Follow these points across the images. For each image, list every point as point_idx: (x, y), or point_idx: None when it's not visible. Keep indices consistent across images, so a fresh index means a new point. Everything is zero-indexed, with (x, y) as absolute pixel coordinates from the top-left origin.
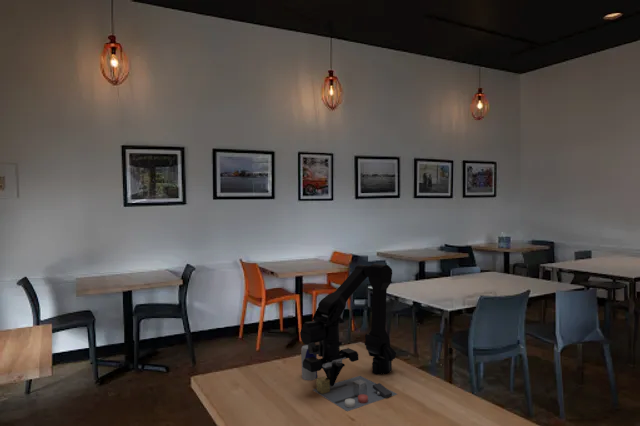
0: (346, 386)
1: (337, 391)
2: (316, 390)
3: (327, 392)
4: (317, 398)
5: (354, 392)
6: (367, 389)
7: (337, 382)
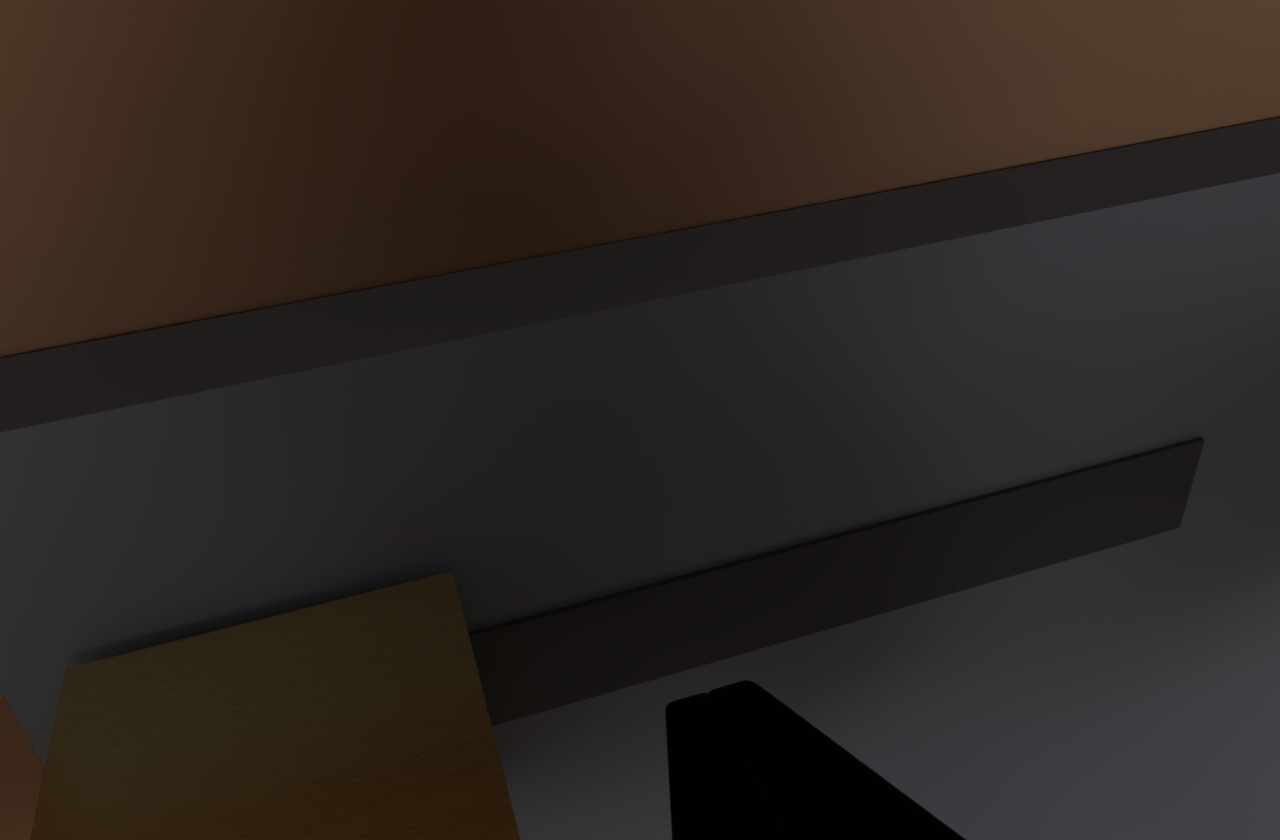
0: (1095, 583)
1: None
2: (74, 582)
3: None
4: (33, 755)
5: None
6: (1252, 803)
7: (1142, 218)
